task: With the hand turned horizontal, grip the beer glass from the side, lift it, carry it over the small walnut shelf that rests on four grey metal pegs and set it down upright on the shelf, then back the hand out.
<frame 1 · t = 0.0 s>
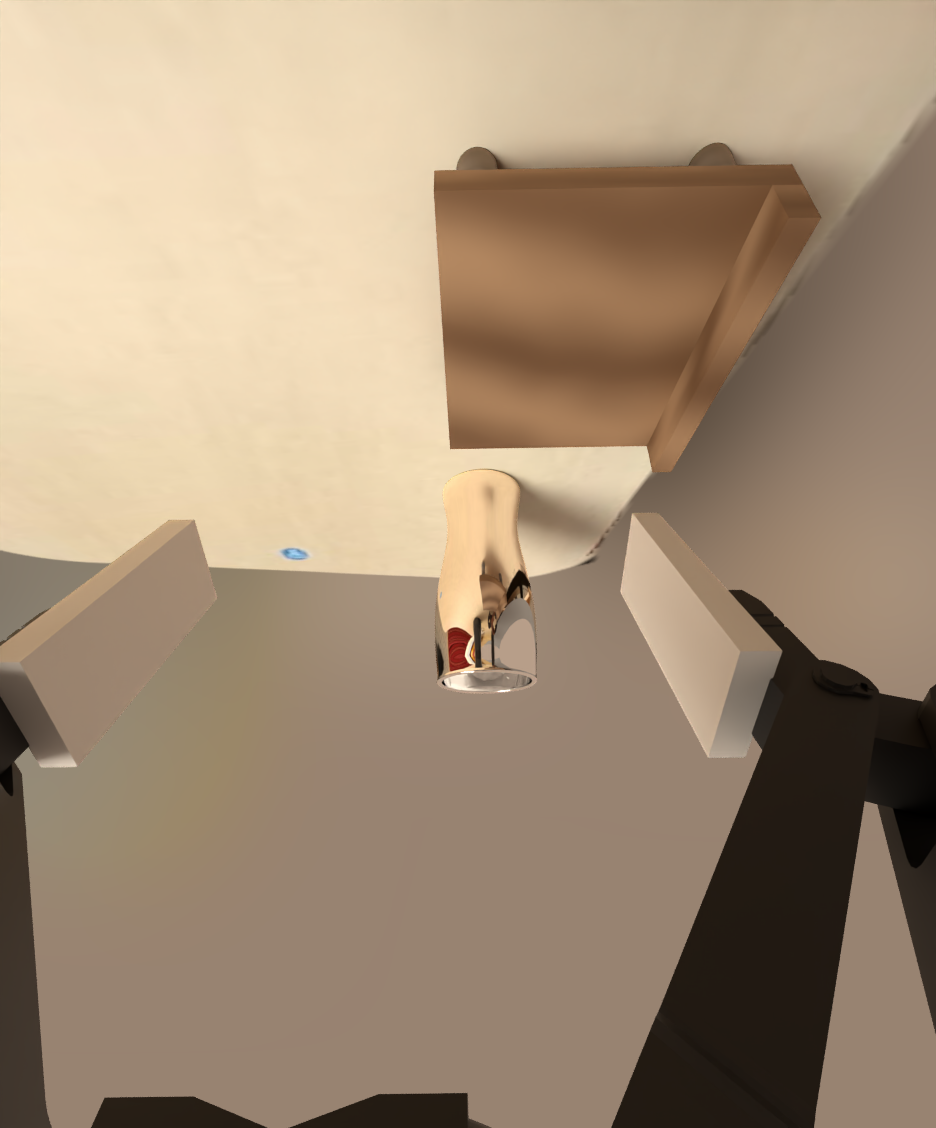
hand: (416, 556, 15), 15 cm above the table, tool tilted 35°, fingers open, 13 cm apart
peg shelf: (570, 289, 24), on the table
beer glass: (481, 489, 39), on the table
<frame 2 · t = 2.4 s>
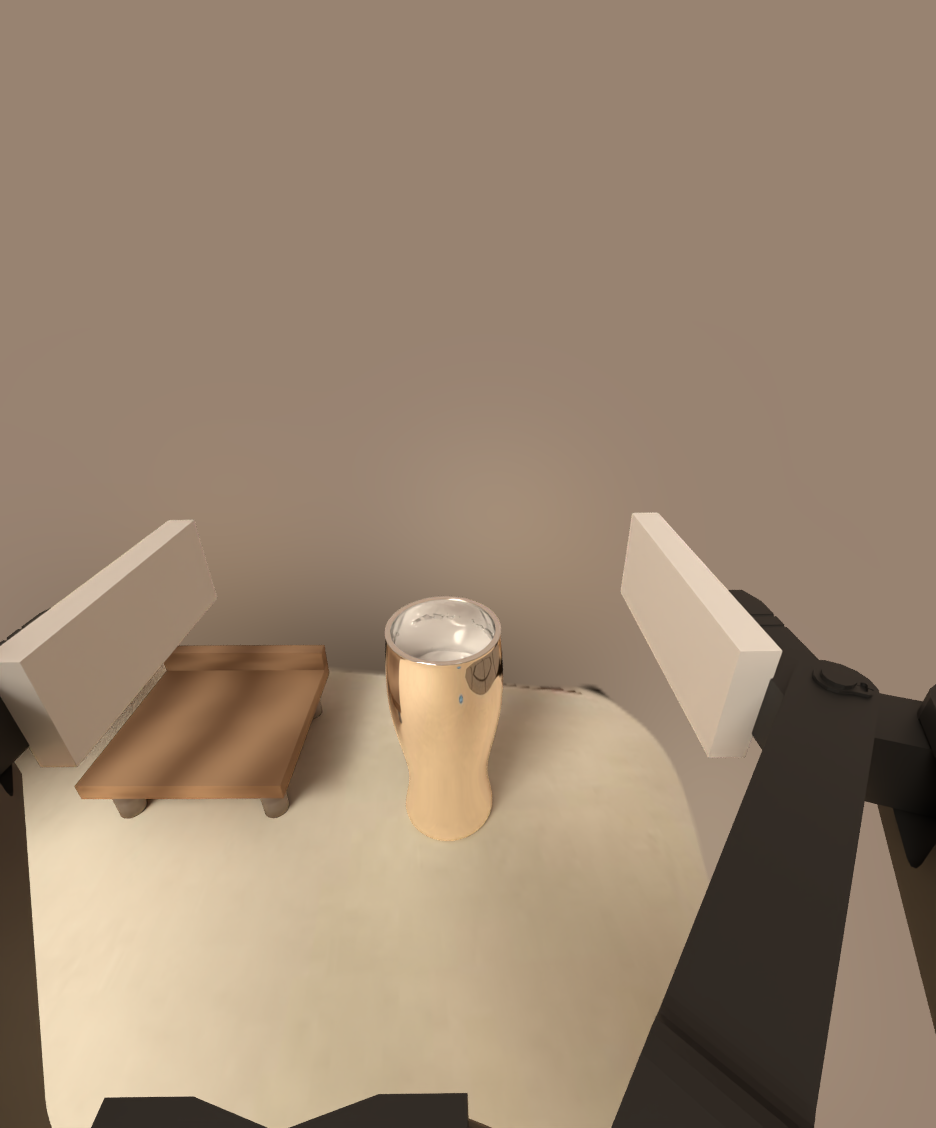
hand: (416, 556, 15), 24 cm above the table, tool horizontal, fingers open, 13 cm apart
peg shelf: (232, 755, 39), on the table
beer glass: (449, 802, 35), on the table
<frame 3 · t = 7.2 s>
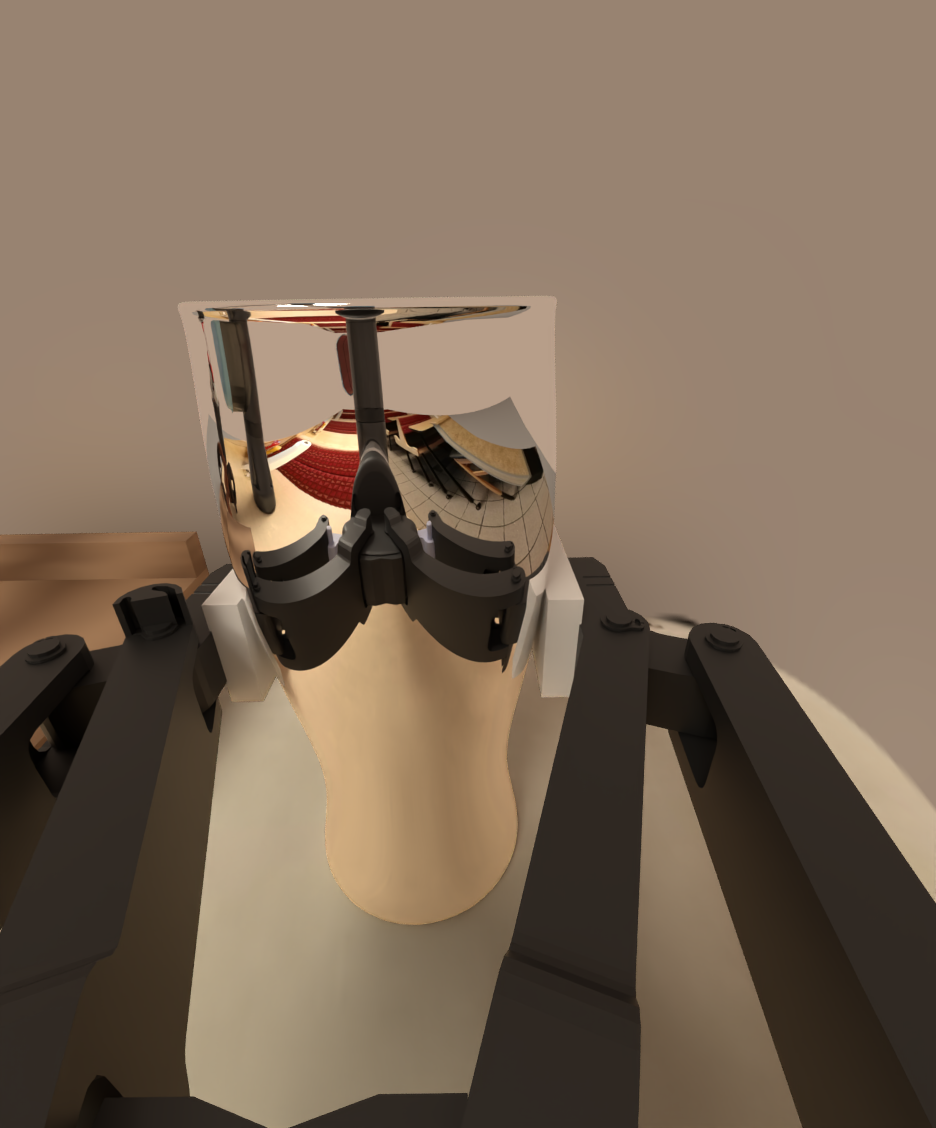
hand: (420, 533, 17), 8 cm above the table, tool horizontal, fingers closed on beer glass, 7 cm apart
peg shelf: (1, 735, 20), on the table
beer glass: (423, 827, 16), on the table, touching gripper
when the fingers open (13 cm above the table, at t = 11.1 s): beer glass drops 1 cm, resting on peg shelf.
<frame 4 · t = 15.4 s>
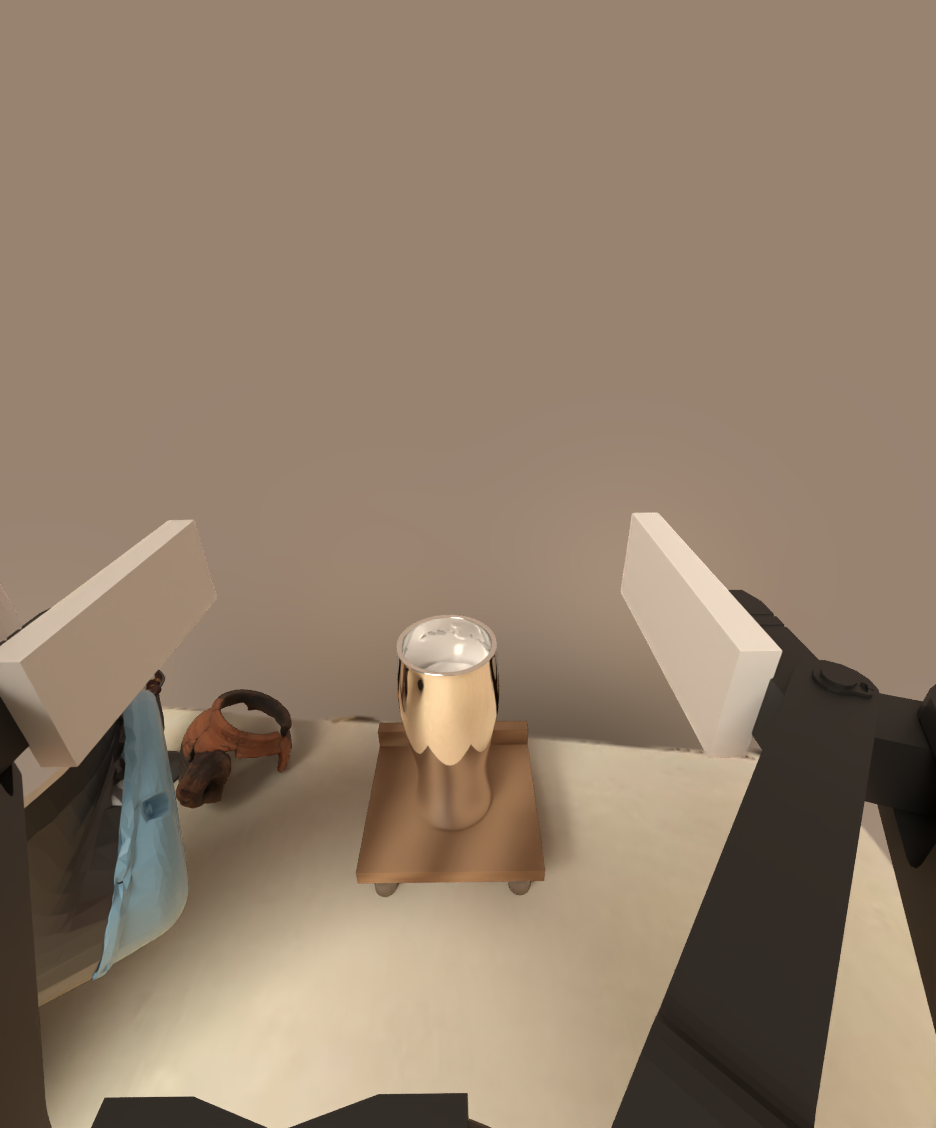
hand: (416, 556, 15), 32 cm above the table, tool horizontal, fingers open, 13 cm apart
sundae: (157, 774, 47), on the table
broken clay pot: (234, 776, 47), on the table
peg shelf: (453, 828, 42), on the table
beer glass: (453, 797, 40), point 4 cm above the table, touching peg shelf
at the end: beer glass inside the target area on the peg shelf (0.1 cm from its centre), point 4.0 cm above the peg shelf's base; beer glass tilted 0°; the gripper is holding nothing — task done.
